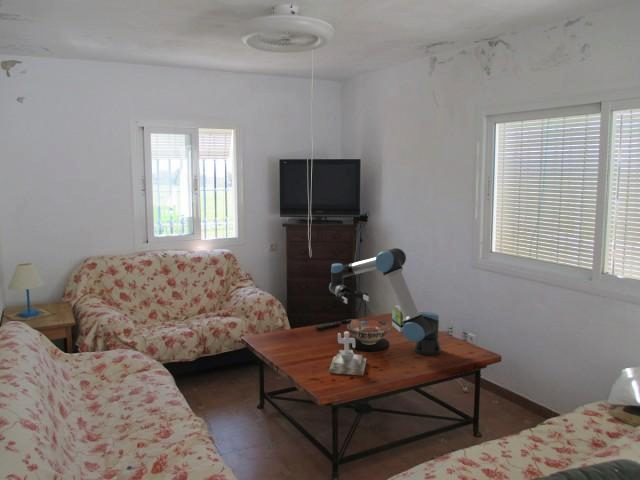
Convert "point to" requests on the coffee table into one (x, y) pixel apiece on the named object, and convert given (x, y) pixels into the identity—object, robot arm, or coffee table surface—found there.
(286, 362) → the coffee table surface
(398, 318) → the tea box
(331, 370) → the plinth
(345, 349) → the figurine
